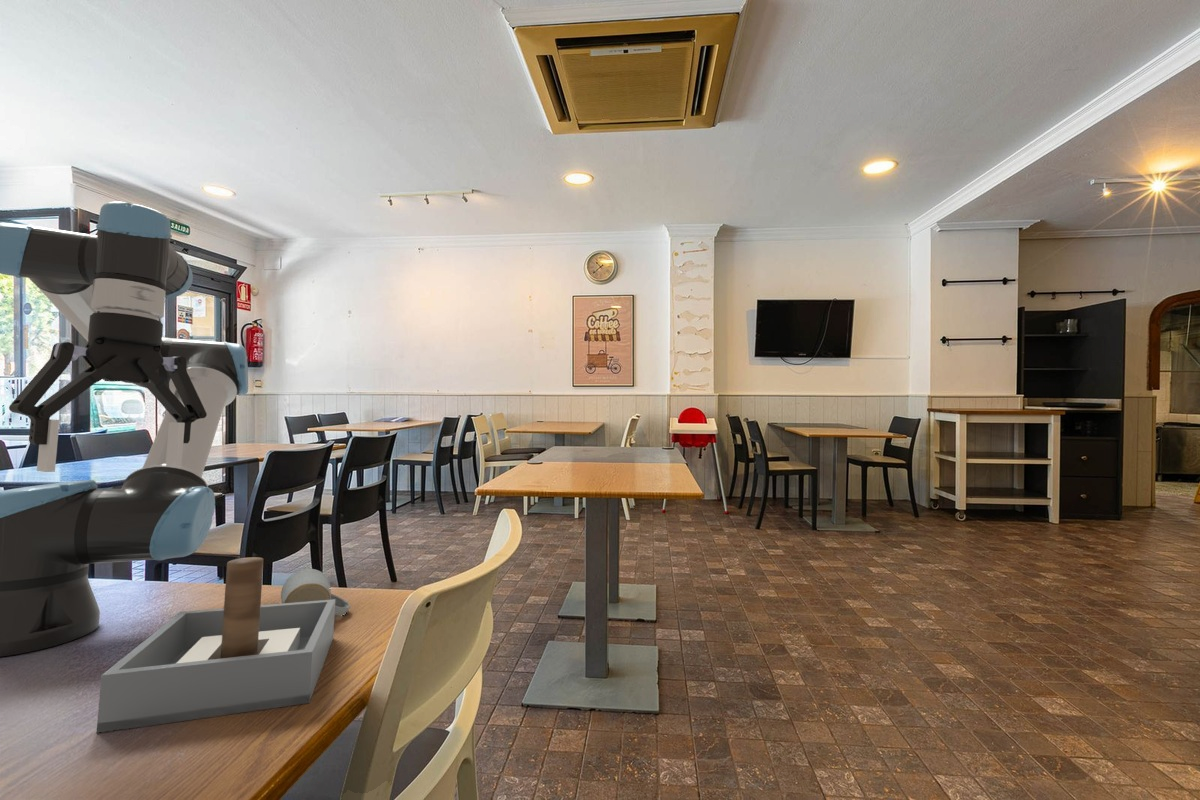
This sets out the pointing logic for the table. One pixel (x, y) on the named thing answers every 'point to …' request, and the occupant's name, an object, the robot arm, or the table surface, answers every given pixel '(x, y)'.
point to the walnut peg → (242, 607)
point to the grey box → (217, 668)
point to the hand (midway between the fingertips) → (115, 468)
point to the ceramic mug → (311, 590)
